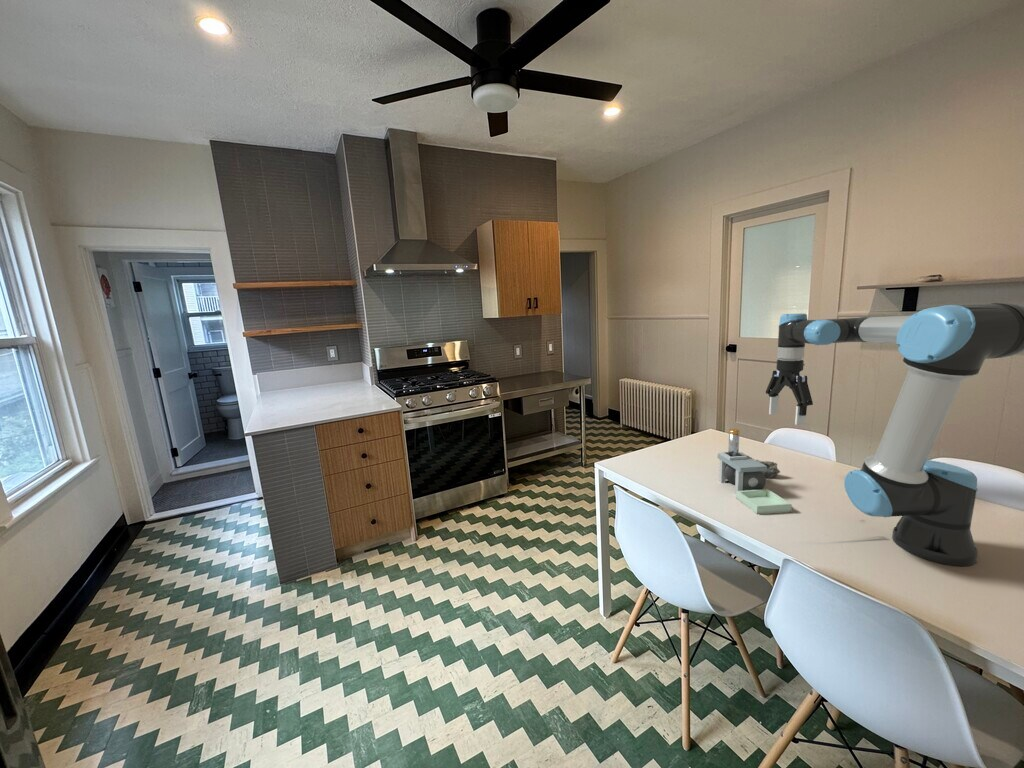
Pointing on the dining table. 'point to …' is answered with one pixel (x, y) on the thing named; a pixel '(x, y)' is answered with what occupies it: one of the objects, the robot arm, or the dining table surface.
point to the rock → (770, 469)
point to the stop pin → (733, 442)
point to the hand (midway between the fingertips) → (785, 419)
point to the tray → (763, 501)
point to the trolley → (741, 471)
